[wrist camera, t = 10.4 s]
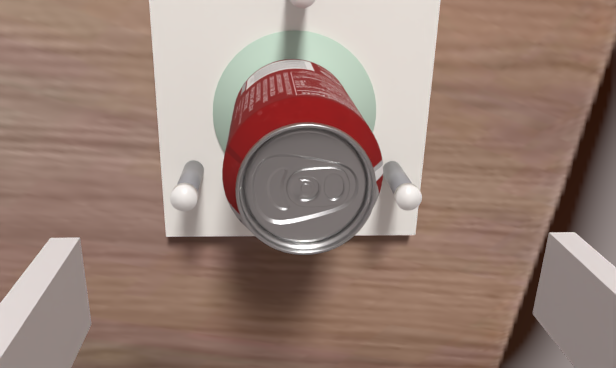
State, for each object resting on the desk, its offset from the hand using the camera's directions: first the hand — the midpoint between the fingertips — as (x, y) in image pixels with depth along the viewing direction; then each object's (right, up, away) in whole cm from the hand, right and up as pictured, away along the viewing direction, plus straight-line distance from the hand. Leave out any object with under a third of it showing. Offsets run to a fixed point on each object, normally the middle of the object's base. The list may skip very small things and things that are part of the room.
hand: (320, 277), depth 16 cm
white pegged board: (-1, +7, +18) cm, 20 cm away
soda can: (-1, +7, +17) cm, 19 cm away
